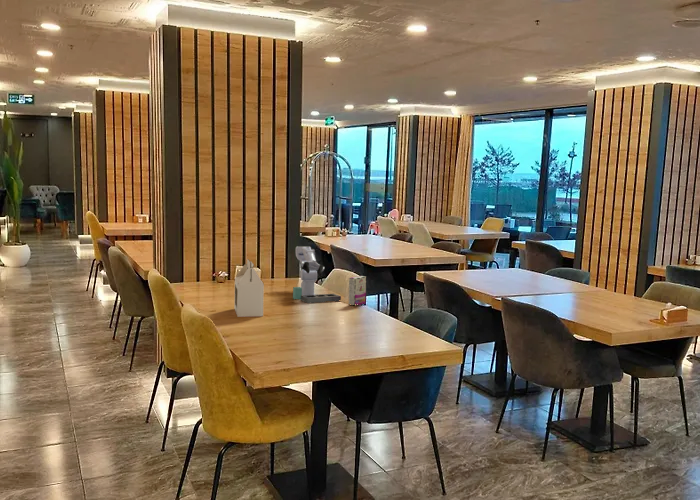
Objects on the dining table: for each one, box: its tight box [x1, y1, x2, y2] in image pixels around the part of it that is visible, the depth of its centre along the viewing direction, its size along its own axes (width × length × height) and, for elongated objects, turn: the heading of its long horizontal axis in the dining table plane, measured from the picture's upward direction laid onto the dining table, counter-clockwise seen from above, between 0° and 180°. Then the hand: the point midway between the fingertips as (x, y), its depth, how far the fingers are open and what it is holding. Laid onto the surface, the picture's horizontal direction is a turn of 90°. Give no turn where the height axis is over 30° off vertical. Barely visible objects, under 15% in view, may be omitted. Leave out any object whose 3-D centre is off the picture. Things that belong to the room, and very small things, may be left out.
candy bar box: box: [348, 275, 367, 306], centre depth 370 cm, size 11×5×16 cm, turn 143°
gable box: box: [233, 258, 265, 318], centre depth 337 cm, size 22×13×28 cm, turn 15°
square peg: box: [292, 286, 302, 300], centre depth 383 cm, size 4×4×7 cm
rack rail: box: [300, 293, 342, 304], centre depth 379 cm, size 10×22×3 cm, turn 118°
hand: (314, 273), depth 376 cm, fingers open, 7 cm apart
